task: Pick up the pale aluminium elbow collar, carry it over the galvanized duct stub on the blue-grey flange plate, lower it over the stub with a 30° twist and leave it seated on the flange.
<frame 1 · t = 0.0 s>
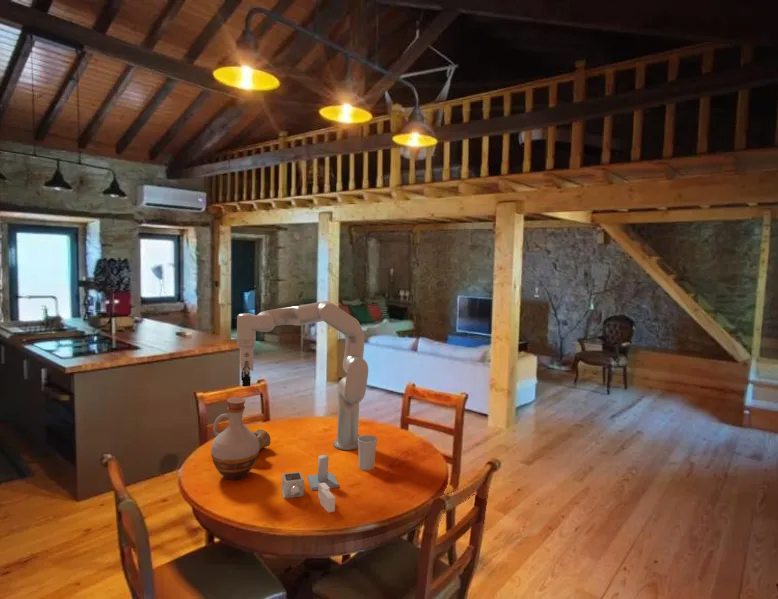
hand: (245, 383, 201), 31 cm above the table, fingers open, 9 cm apart
pipe: (254, 454, 205), on the table
jug: (233, 475, 185), on the table
cup: (366, 467, 196), on the table
elbow collar: (292, 492, 173), on the table
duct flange: (322, 482, 181), on the table
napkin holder: (327, 504, 167), on the table
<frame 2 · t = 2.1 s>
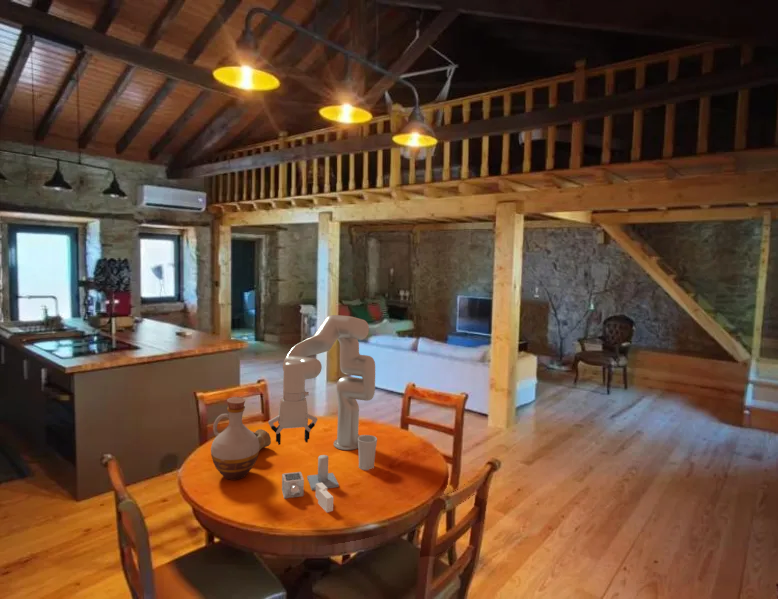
hand: (292, 442, 171), 19 cm above the table, fingers open, 9 cm apart
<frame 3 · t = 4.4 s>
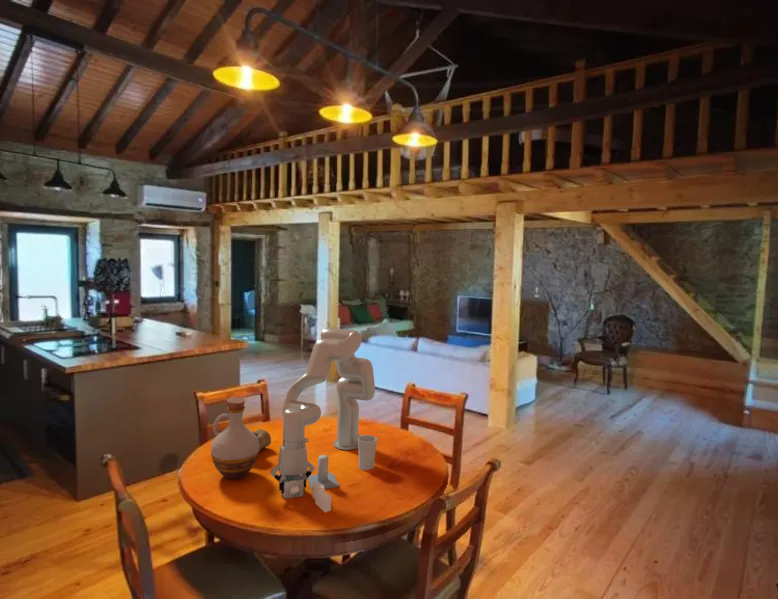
hand: (292, 490, 173), 1 cm above the table, fingers closed on elbow collar, 6 cm apart
elbow collar: (292, 492, 173), on the table, touching gripper
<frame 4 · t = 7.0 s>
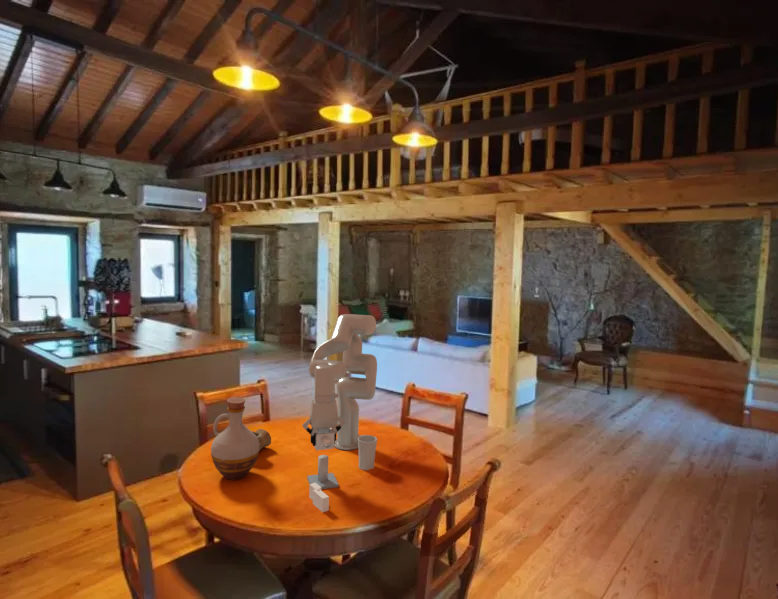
hand: (323, 443, 180), 15 cm above the table, fingers closed on elbow collar, 6 cm apart
elbow collar: (323, 445, 180), point 14 cm above the table, touching gripper
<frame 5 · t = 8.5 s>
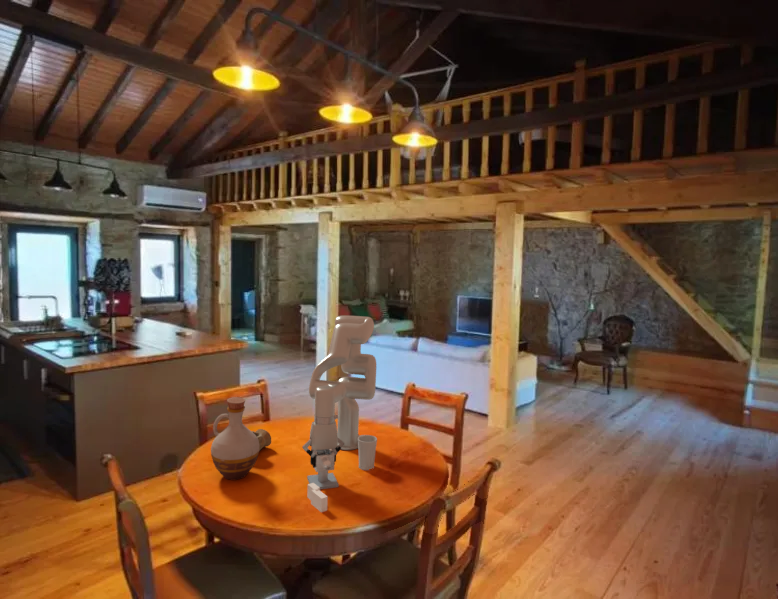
hand: (323, 464, 181), 7 cm above the table, fingers closed on elbow collar, 6 cm apart
elbow collar: (323, 467, 181), point 6 cm above the table, touching gripper
when the fingers open (3 cm above the table, at t = 9.7 s): elbow collar drops 1 cm, resting on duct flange.
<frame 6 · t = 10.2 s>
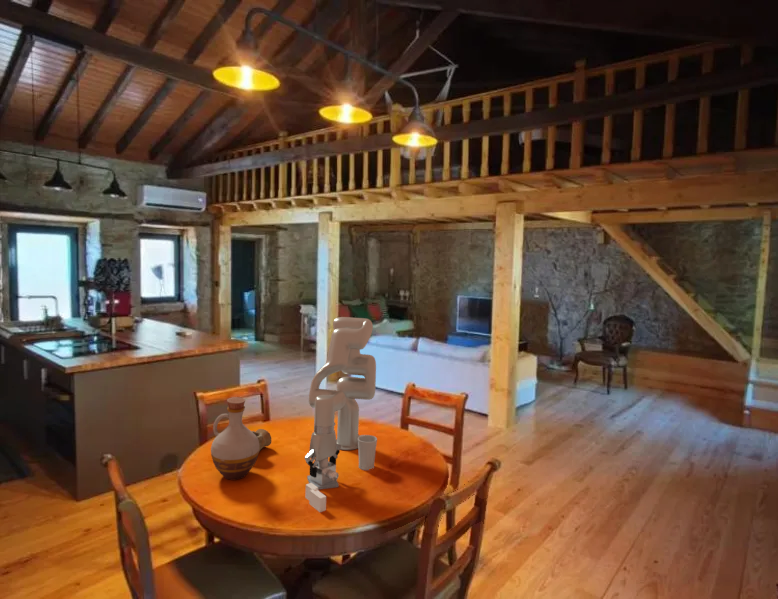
hand: (322, 472, 181), 4 cm above the table, fingers open, 9 cm apart
elbow collar: (322, 479, 181), point 1 cm above the table, touching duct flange
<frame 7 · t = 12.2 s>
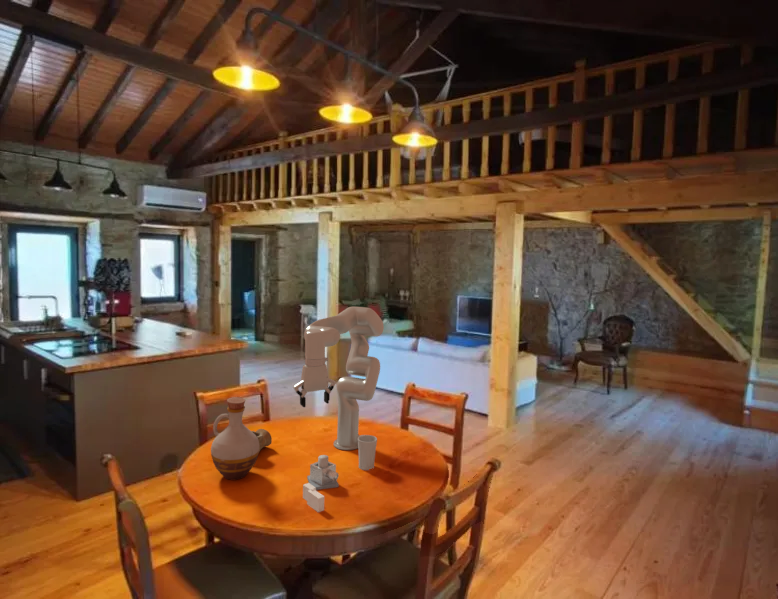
hand: (314, 404, 187), 28 cm above the table, fingers open, 9 cm apart
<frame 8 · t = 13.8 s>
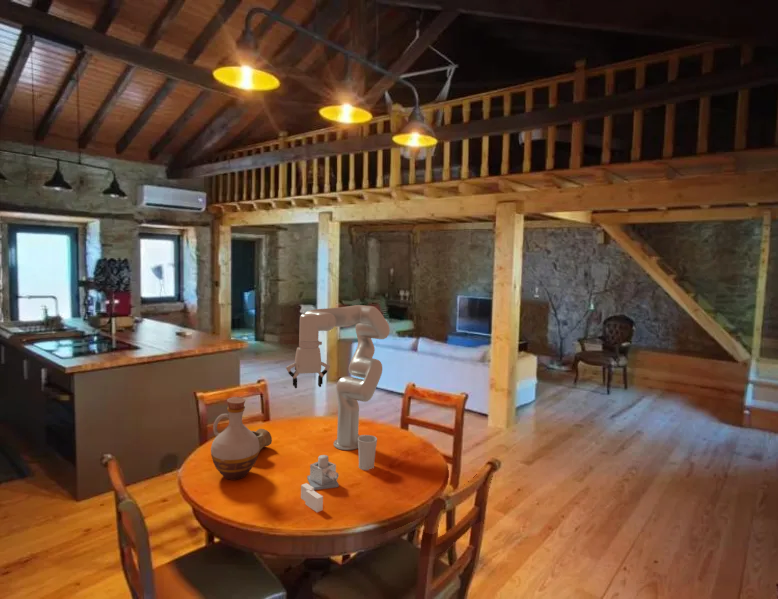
hand: (307, 386, 191), 33 cm above the table, fingers open, 9 cm apart
at the end: elbow collar 0.1 cm off-centre on the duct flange, point 1.0 cm above the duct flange's base; the gripper is holding nothing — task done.
